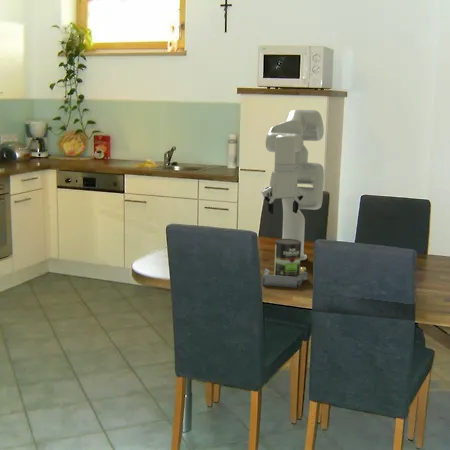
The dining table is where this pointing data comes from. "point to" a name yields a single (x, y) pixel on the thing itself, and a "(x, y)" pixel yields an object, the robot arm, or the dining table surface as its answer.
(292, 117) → the robot arm
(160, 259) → the dining table surface
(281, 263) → the coffee can
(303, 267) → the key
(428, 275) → the dining table surface
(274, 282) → the bracket
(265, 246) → the dining table surface
